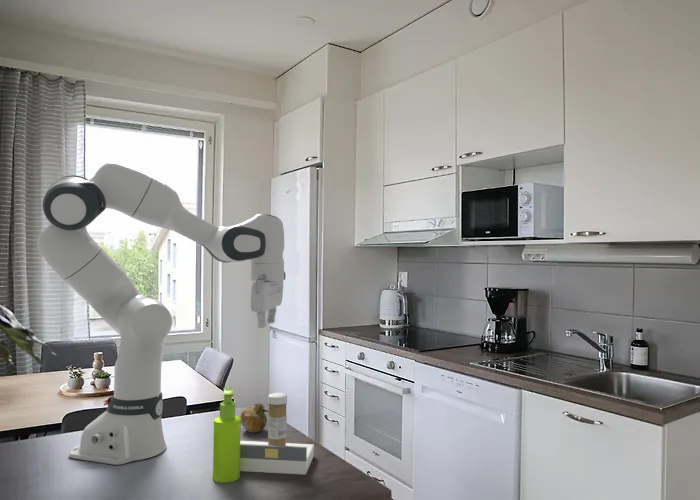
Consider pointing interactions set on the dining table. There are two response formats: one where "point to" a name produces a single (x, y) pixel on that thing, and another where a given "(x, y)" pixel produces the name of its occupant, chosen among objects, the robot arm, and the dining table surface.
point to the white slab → (275, 457)
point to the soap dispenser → (226, 441)
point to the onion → (254, 418)
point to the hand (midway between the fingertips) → (266, 325)
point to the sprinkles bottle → (277, 419)
